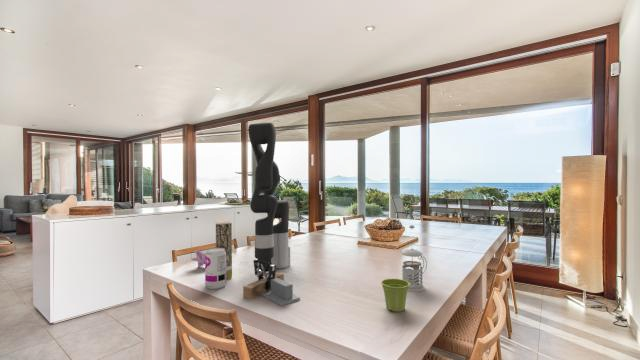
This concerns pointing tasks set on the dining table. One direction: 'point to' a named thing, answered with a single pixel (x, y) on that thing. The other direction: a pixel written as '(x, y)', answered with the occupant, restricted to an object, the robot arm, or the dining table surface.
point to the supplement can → (215, 268)
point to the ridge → (281, 292)
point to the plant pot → (395, 293)
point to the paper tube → (225, 243)
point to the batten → (258, 287)
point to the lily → (199, 258)
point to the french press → (415, 272)
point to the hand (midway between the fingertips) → (264, 288)
